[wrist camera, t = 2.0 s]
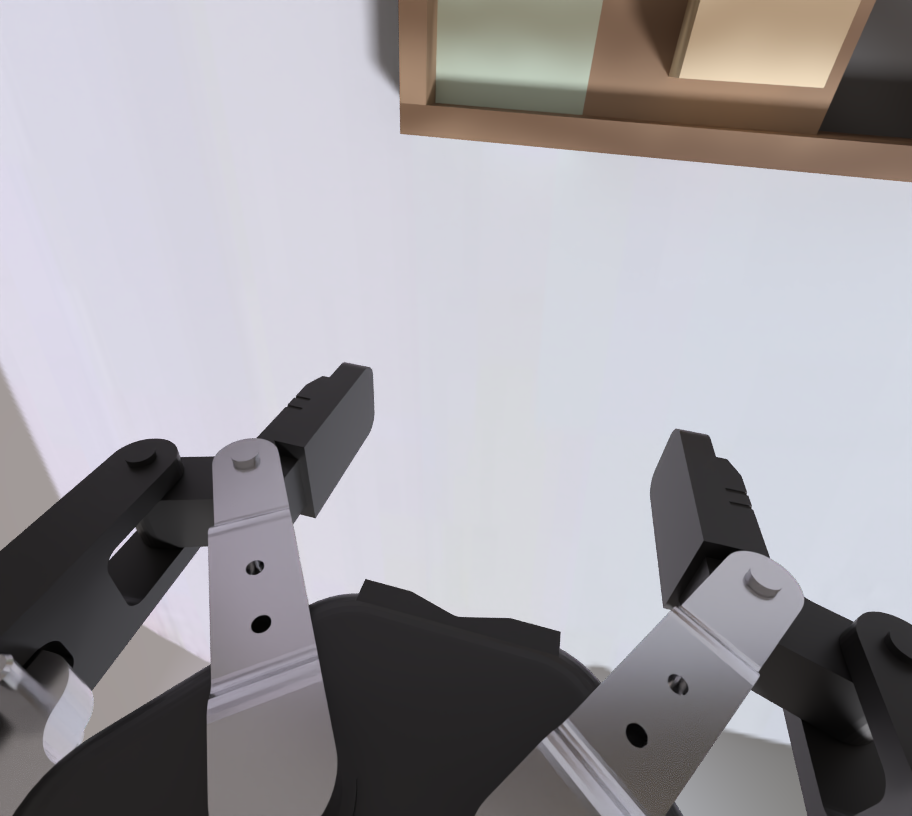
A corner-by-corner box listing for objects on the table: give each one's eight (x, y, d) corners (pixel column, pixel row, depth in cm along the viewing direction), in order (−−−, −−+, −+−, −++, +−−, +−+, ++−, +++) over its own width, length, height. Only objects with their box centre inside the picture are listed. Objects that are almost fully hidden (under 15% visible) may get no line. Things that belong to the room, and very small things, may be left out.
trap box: (428, -148, 24) (395, -190, 20) (1191, -151, 19) (1346, -206, 15) (425, 125, 31) (400, 133, 27) (979, 175, 26) (1047, 195, 22)
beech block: (703, -57, 22) (721, -78, 18) (848, -54, 21) (893, -75, 18) (668, 76, 25) (679, 78, 21) (793, 85, 24) (823, 88, 21)
